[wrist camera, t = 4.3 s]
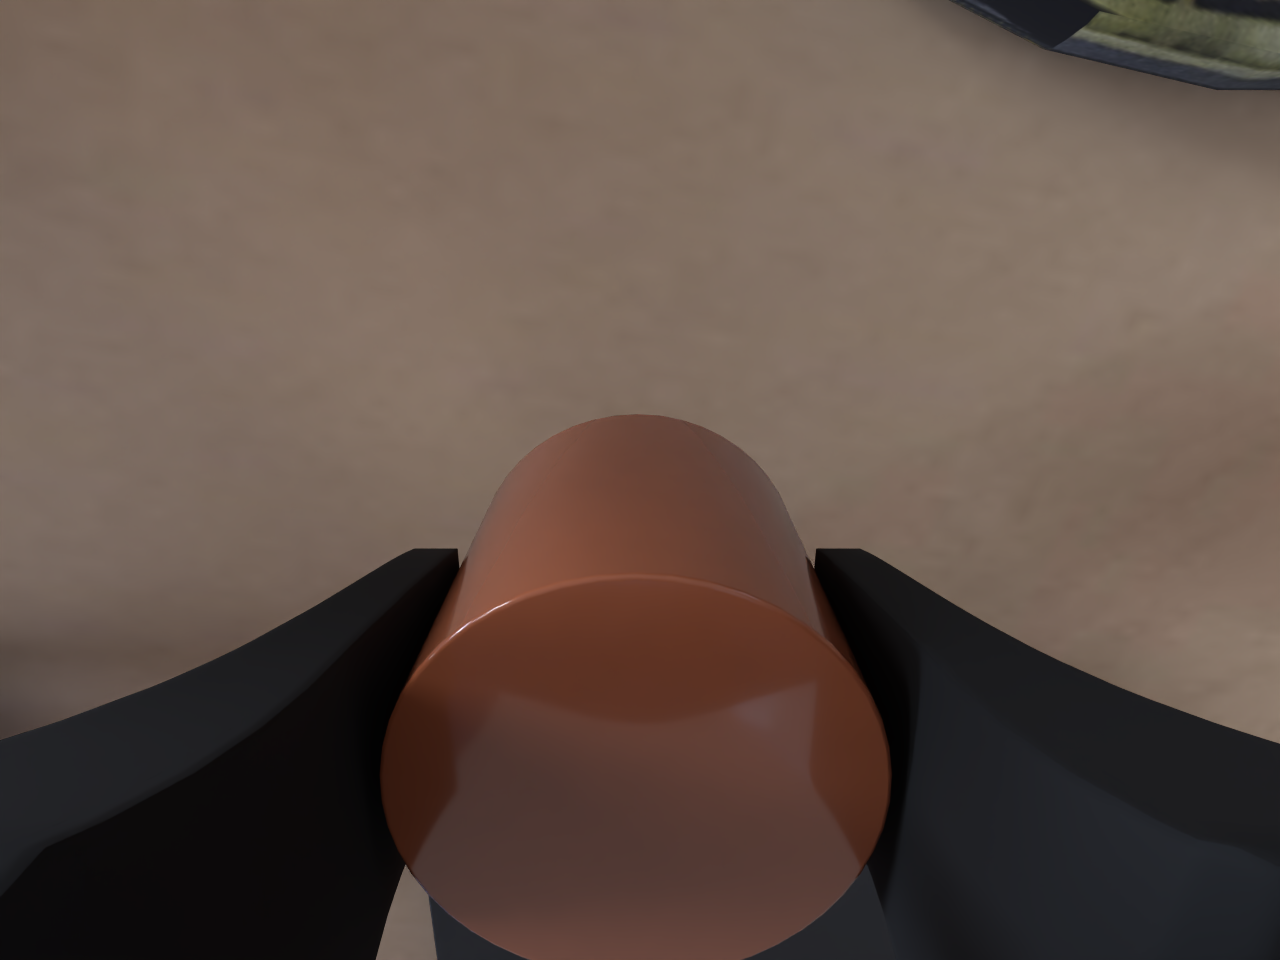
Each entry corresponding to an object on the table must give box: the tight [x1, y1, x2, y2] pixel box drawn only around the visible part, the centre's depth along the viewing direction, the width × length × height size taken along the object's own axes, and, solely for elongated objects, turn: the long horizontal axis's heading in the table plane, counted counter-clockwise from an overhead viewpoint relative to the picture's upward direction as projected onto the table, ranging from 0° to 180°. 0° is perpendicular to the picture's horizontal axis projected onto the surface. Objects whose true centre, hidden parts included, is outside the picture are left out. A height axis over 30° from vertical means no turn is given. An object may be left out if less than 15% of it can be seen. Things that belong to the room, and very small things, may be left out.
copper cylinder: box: [379, 414, 892, 960], centre depth 10 cm, size 5×5×5 cm
